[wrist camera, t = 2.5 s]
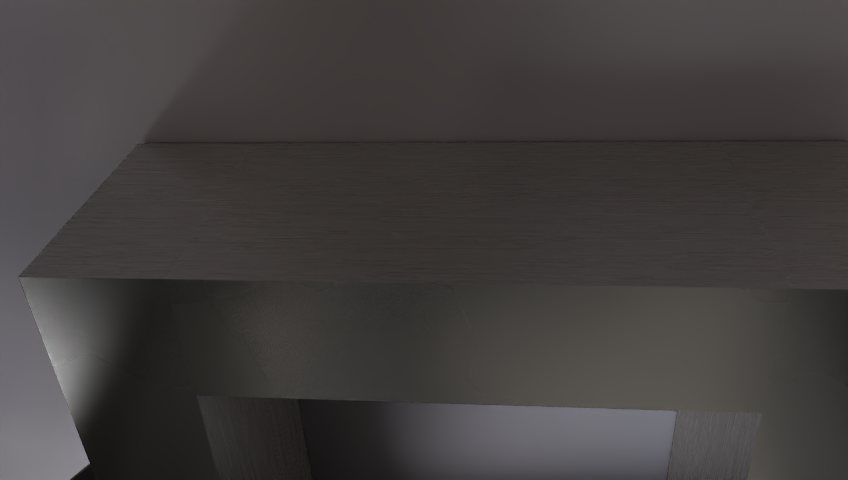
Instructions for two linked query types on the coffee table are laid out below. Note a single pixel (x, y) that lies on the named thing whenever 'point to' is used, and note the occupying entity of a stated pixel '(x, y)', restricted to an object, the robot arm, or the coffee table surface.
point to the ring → (453, 296)
